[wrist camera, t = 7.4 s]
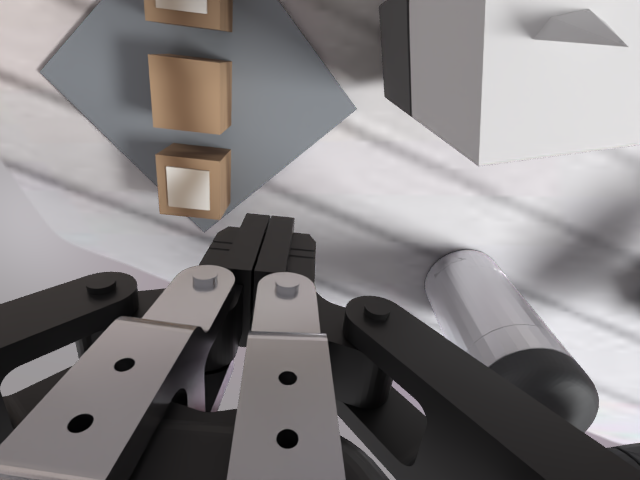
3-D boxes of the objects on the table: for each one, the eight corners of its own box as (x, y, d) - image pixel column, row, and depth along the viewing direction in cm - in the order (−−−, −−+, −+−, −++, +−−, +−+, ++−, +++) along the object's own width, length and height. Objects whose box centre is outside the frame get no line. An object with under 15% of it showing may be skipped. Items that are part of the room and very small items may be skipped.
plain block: (232, 61, 37) (219, 62, 33) (231, 125, 40) (219, 134, 35) (168, 53, 37) (147, 54, 33) (172, 118, 40) (153, 127, 35)
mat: (356, 108, 40) (356, 109, 39) (205, 230, 46) (204, 232, 45) (199, -109, 32) (196, -112, 32) (43, 71, 38) (39, 71, 38)
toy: (380, 93, 39) (512, 190, 12) (374, 9, 36) (536, -112, 9) (531, 71, 38) (1033, 124, 11) (539, -17, 35) (1268, -240, 8)
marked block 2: (231, 149, 41) (219, 162, 36) (230, 202, 44) (219, 220, 39) (173, 142, 41) (154, 154, 36) (176, 196, 43) (159, 214, 39)
